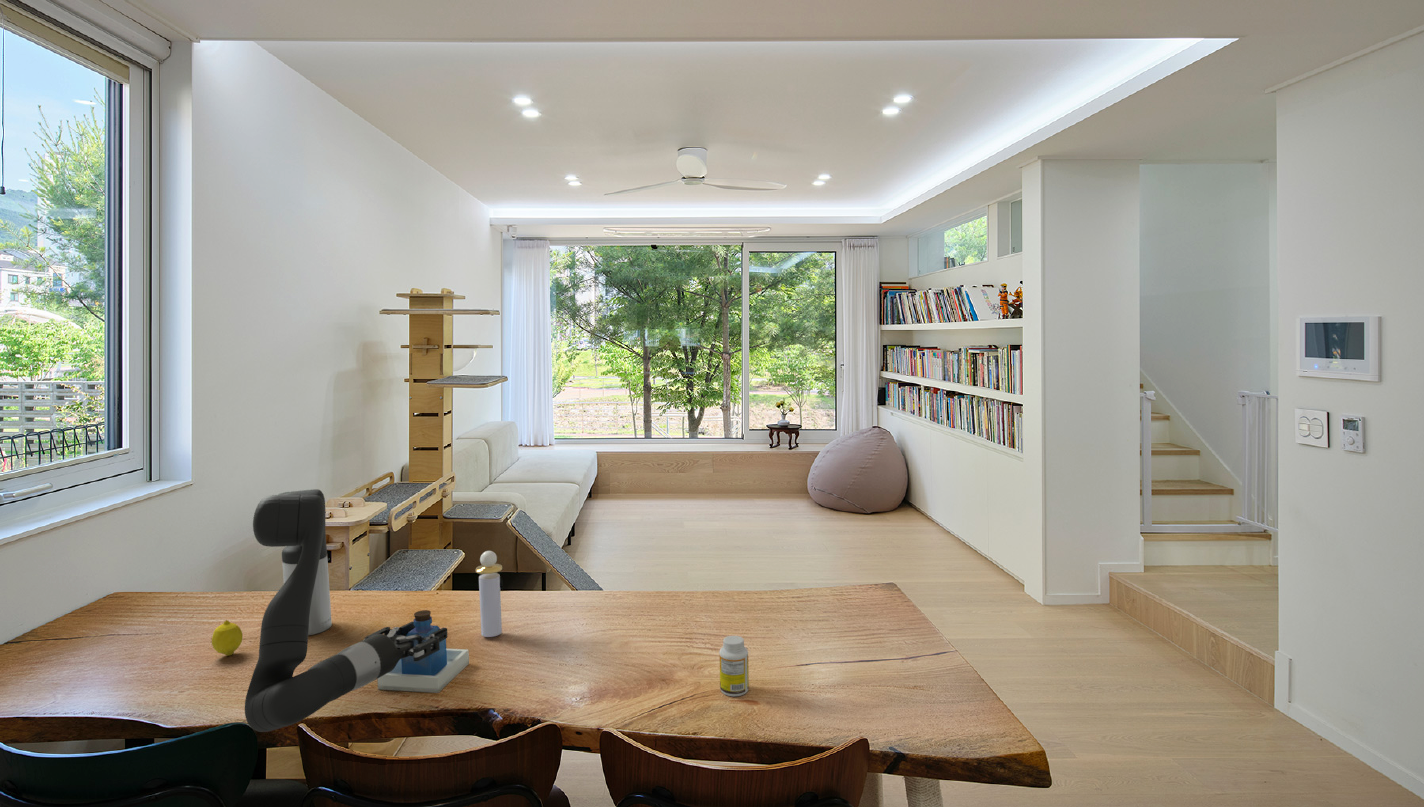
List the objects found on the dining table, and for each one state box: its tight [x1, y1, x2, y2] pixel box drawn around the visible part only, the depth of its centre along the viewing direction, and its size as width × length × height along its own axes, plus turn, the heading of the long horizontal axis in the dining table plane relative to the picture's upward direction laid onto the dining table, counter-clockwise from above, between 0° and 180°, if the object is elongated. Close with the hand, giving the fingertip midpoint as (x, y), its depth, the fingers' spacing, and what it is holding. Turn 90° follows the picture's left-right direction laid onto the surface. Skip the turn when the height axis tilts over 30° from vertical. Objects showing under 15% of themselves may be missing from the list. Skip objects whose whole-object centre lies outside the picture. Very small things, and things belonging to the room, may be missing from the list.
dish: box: [376, 647, 470, 694], centre depth 145 cm, size 13×13×3 cm
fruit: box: [211, 619, 243, 656], centre depth 155 cm, size 6×6×8 cm
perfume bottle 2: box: [475, 550, 504, 638], centre depth 163 cm, size 6×6×20 cm
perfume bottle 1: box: [401, 609, 447, 676], centre depth 144 cm, size 6×6×12 cm
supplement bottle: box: [718, 635, 750, 698], centre depth 137 cm, size 6×6×10 cm
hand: (430, 629), depth 146 cm, fingers open, 8 cm apart
